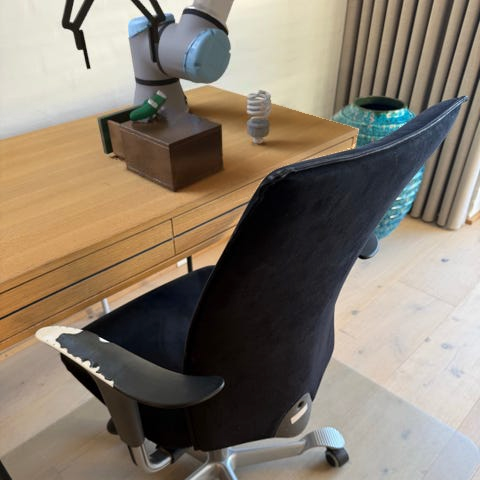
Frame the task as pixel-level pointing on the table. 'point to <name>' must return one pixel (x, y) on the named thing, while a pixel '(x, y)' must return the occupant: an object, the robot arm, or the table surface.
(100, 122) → the drawer
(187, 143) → the cabinet
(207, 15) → the robot arm
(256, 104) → the light bulb
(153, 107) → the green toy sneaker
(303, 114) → the table surface
